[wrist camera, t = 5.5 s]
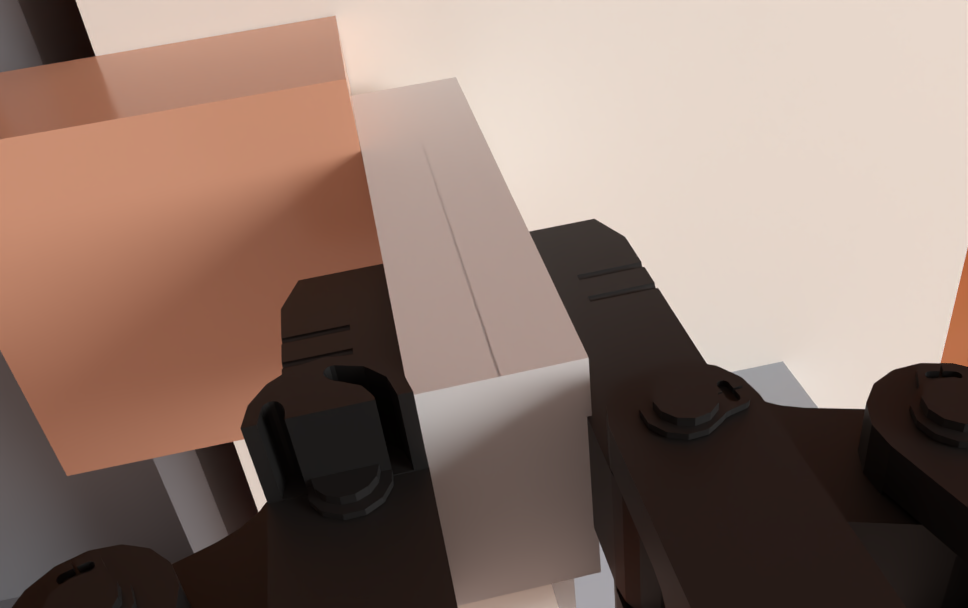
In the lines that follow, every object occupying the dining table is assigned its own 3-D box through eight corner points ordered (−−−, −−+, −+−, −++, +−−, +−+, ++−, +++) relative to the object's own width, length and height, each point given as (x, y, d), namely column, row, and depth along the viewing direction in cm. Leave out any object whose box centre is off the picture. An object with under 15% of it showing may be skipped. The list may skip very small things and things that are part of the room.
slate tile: (534, 413, 17) (569, 509, 15) (782, 361, 18) (848, 447, 16) (550, 581, 20) (581, 681, 18) (764, 533, 21) (817, 624, 19)
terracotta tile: (-38, 79, 12) (-103, 157, 10) (335, 15, 13) (345, 79, 10) (96, 369, 15) (66, 475, 13) (396, 309, 15) (413, 404, 13)
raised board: (90, -196, 15) (20, -154, 11) (890, -305, 16) (1097, -304, 12) (318, 538, 25) (326, 702, 21) (796, 435, 26) (891, 570, 22)
